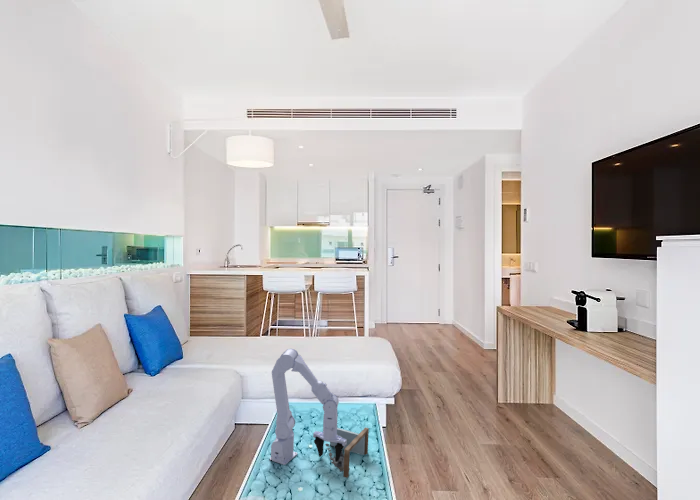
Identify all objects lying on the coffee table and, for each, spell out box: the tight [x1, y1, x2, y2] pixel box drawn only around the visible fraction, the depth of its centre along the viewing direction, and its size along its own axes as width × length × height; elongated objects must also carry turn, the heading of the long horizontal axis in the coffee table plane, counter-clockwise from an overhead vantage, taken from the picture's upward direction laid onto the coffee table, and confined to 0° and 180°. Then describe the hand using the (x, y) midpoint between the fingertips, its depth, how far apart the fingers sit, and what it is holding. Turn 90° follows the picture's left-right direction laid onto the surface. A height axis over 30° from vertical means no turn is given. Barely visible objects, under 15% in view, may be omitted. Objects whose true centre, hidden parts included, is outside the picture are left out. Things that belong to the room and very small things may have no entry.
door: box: [329, 427, 365, 456], centre depth 174 cm, size 16×2×8 cm, turn 64°
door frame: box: [342, 427, 370, 479], centre depth 164 cm, size 20×2×11 cm, turn 154°
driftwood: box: [325, 443, 351, 473], centre depth 169 cm, size 21×7×2 cm, turn 12°
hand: (329, 458), depth 166 cm, fingers open, 7 cm apart
